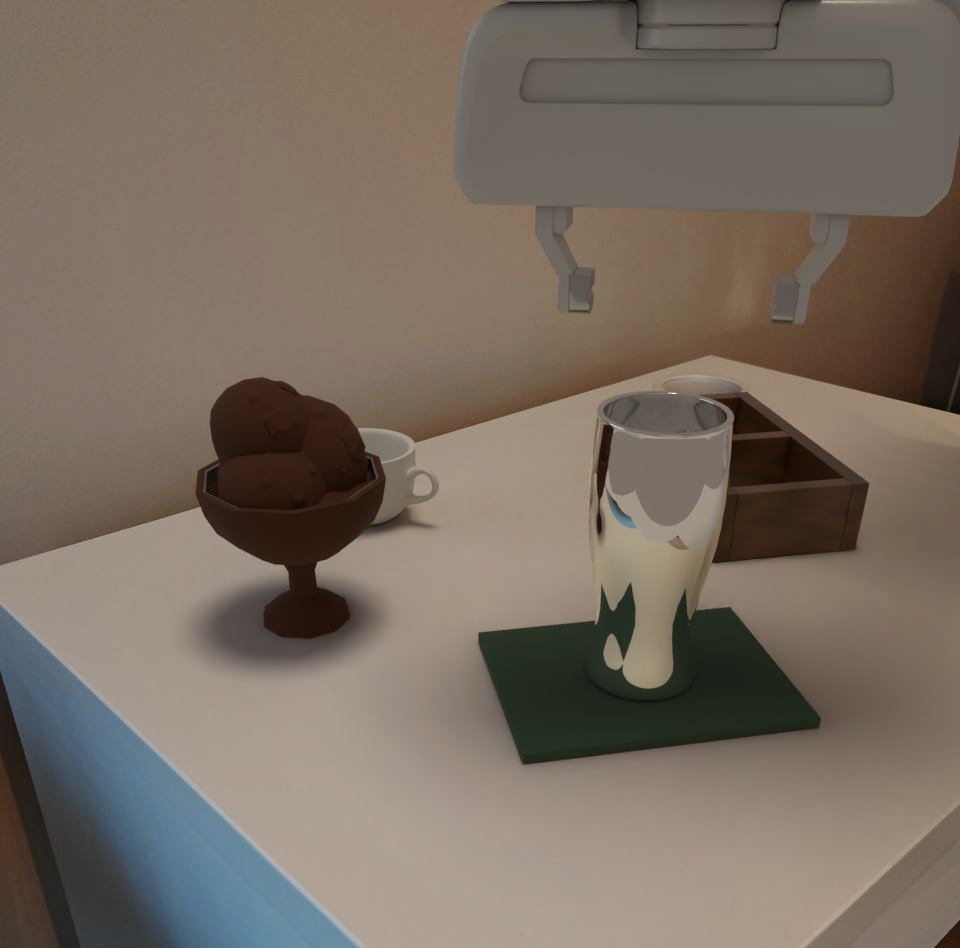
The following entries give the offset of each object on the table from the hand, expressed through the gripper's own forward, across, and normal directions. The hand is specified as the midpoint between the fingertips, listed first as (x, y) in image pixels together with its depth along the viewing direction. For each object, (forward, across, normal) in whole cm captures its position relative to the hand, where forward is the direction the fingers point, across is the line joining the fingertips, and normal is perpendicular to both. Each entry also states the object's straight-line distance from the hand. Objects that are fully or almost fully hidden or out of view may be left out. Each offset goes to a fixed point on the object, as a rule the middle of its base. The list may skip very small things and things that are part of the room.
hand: (679, 316), depth 45 cm
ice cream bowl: (+20, +21, -4) cm, 30 cm away
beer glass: (+20, 0, 0) cm, 20 cm away
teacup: (+20, +21, -19) cm, 35 cm away
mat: (+20, 0, 0) cm, 20 cm away
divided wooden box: (+20, -5, -27) cm, 34 cm away
